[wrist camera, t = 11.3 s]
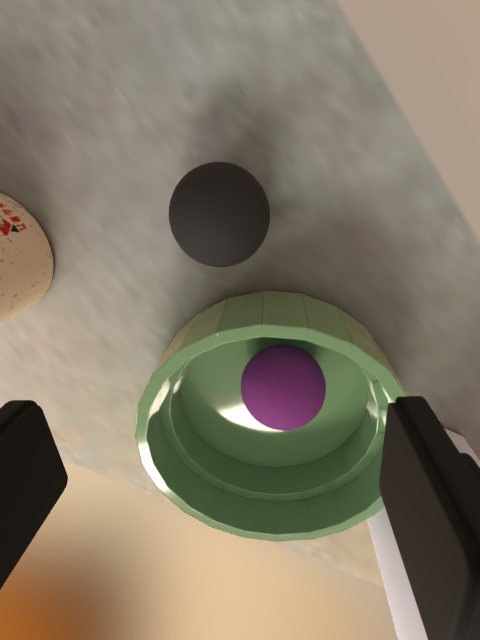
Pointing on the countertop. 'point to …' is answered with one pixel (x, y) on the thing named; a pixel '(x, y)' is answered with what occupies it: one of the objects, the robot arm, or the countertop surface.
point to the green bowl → (258, 440)
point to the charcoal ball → (219, 214)
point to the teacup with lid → (21, 259)
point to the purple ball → (283, 387)
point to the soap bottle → (402, 566)
